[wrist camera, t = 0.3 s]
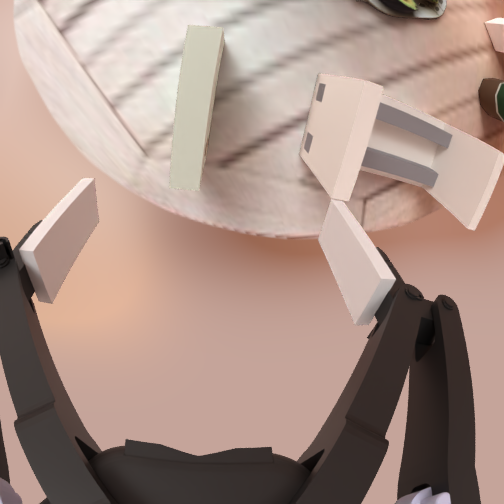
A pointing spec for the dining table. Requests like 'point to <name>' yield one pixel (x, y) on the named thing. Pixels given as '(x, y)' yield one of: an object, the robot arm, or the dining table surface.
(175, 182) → the door panel
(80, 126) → the dining table surface
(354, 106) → the cabinet base
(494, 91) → the beer bottle
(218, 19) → the dining table surface
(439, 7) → the salad plate
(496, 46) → the milk
